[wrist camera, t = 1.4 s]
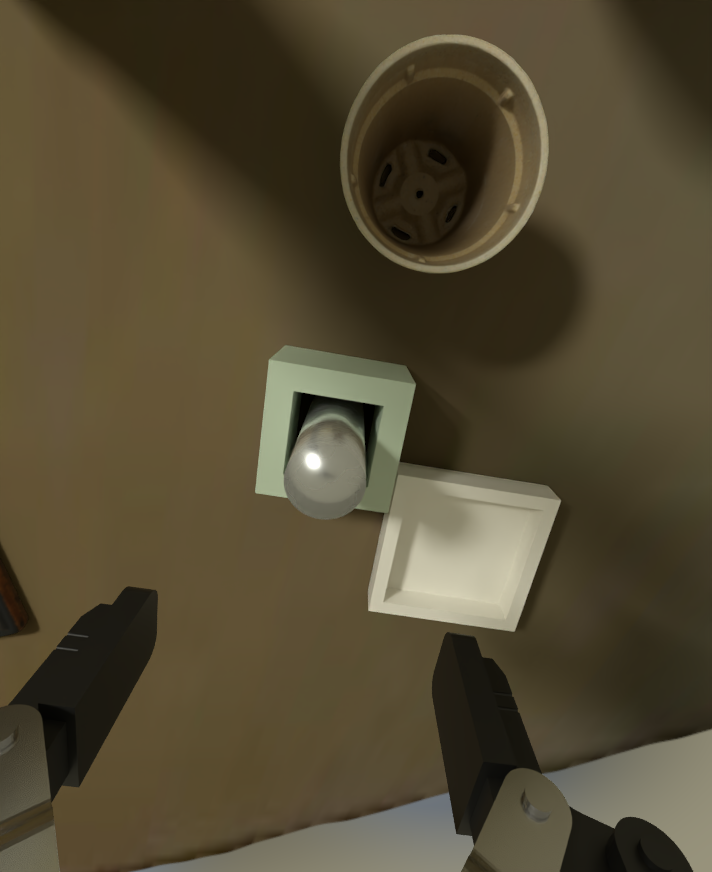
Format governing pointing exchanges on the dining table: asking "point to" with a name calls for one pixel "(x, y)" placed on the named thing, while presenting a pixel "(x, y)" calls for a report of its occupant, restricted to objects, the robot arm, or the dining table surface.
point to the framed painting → (10, 606)
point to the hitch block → (340, 380)
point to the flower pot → (444, 153)
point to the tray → (460, 546)
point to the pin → (328, 460)
